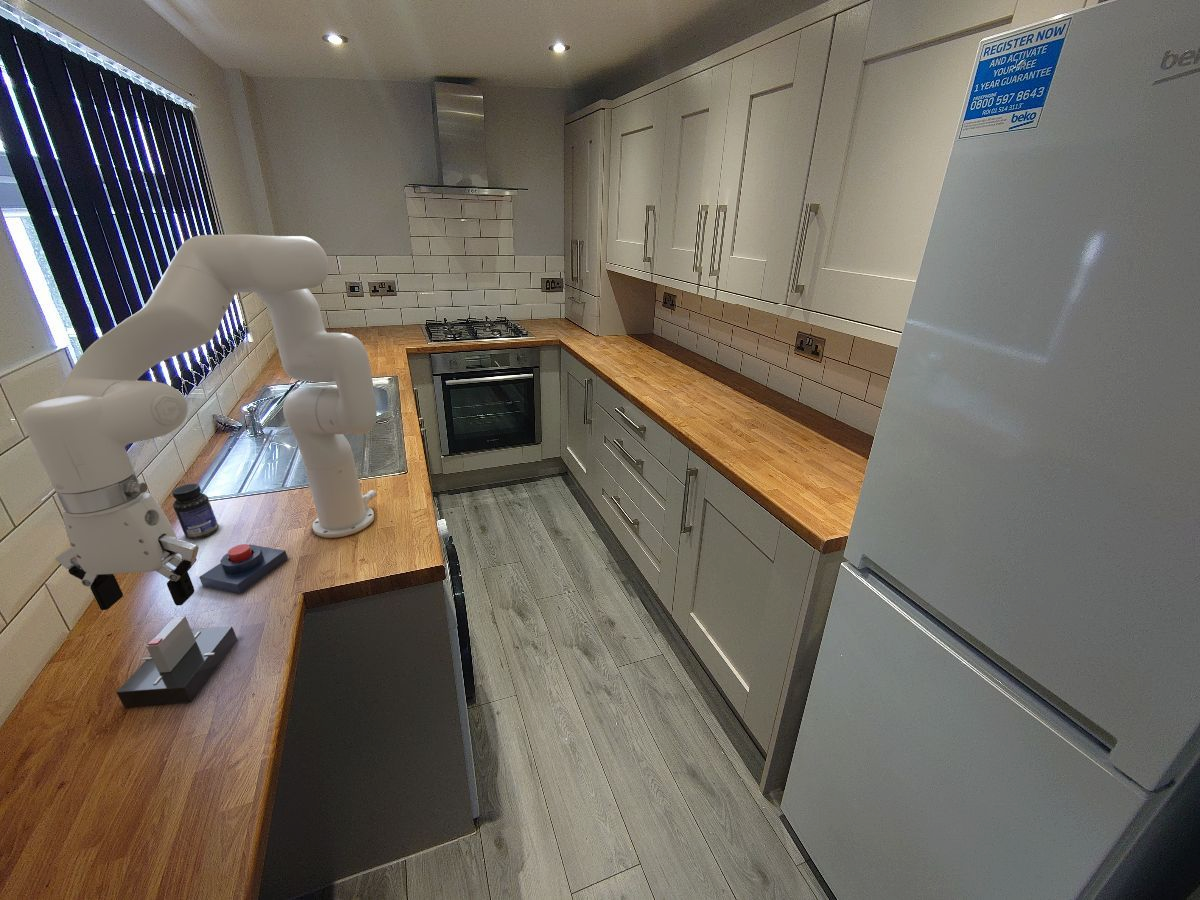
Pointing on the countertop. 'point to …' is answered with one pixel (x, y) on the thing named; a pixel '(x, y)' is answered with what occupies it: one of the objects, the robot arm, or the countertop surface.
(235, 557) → the button
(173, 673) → the base
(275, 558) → the button box
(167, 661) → the tap lever
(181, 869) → the countertop surface
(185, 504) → the pill bottle
